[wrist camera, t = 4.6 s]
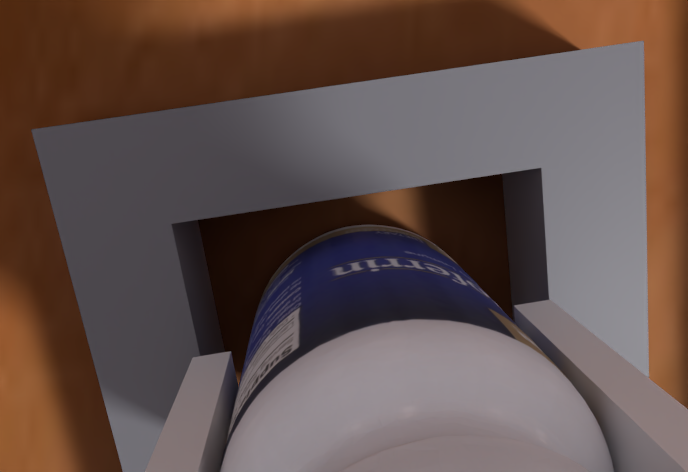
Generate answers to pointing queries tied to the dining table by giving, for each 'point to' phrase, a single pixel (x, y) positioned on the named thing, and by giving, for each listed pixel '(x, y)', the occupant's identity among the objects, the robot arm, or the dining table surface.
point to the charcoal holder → (346, 181)
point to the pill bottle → (398, 371)
